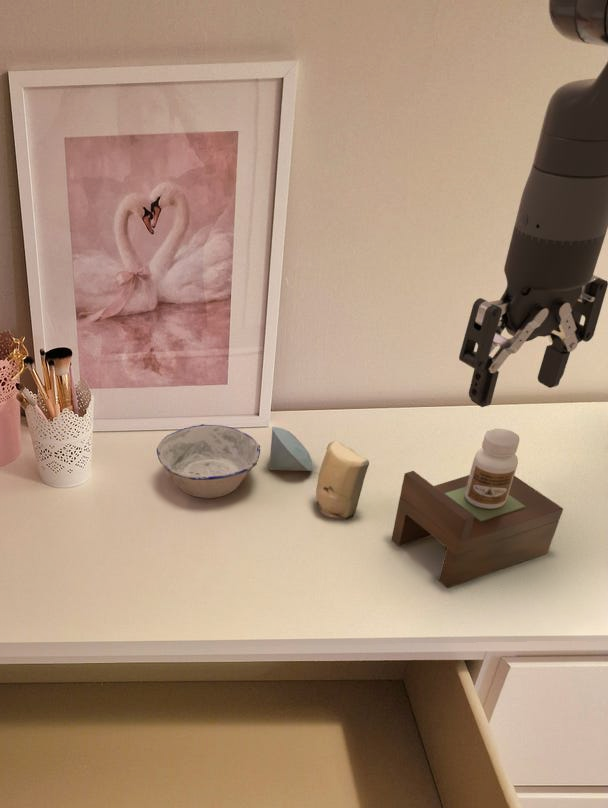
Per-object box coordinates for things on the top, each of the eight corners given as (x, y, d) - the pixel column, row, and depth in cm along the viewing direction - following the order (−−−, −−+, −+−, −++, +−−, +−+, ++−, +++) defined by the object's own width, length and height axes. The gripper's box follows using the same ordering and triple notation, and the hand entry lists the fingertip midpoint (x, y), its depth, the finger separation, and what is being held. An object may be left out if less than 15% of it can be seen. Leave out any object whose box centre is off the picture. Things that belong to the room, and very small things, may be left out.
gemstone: (254, 463, 109) (284, 435, 107) (245, 439, 115) (274, 412, 113) (294, 500, 112) (324, 474, 110) (283, 475, 118) (311, 450, 116)
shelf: (487, 508, 105) (506, 442, 99) (547, 553, 98) (572, 484, 92) (391, 539, 101) (404, 473, 95) (447, 588, 94) (465, 519, 88)
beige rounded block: (365, 502, 107) (374, 444, 102) (357, 525, 104) (366, 467, 98) (318, 494, 109) (326, 437, 103) (309, 517, 105) (316, 459, 100)
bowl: (228, 446, 118) (230, 414, 115) (276, 493, 109) (279, 459, 106) (141, 469, 115) (140, 436, 112) (184, 519, 106) (184, 485, 103)
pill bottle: (464, 508, 95) (481, 445, 89) (463, 486, 98) (479, 424, 92) (507, 512, 94) (526, 449, 88) (504, 490, 97) (523, 427, 92)
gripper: (527, 250, 72) (482, 427, 83) (657, 220, 75) (597, 393, 86) (466, 225, 77) (431, 394, 88) (591, 198, 81) (542, 363, 92)
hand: (513, 393), depth 87 cm, fingers open, 8 cm apart
